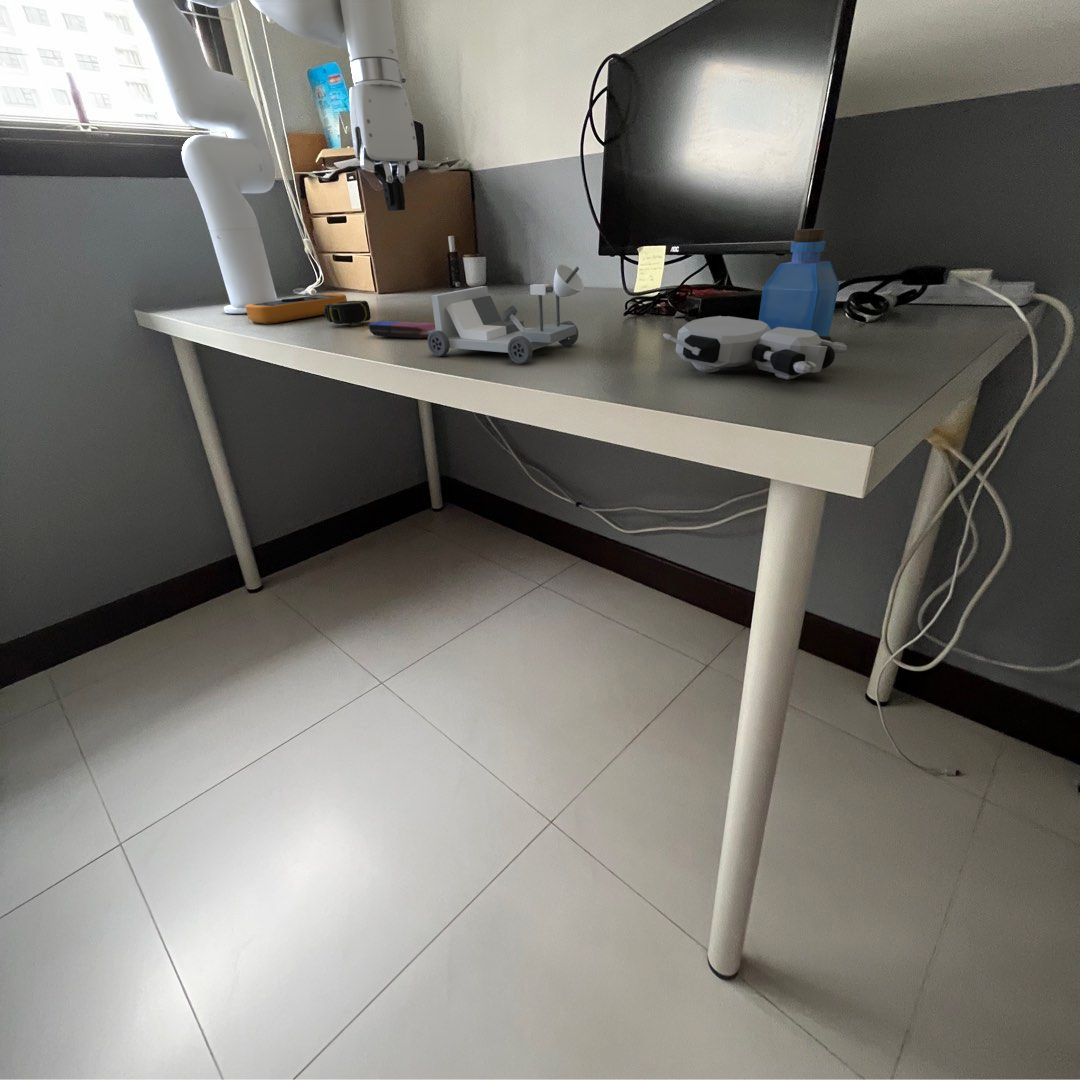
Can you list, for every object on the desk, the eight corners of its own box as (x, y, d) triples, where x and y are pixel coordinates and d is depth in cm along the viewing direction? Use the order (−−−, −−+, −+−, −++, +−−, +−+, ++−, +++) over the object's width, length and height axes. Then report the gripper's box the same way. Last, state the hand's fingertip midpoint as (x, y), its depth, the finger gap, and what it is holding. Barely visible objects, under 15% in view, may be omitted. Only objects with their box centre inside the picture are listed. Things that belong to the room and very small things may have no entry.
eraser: (444, 334, 86) (443, 322, 85) (430, 339, 82) (429, 326, 81) (383, 331, 89) (381, 319, 89) (366, 335, 86) (364, 323, 85)
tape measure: (364, 320, 103) (360, 298, 101) (378, 324, 98) (374, 300, 96) (326, 325, 100) (321, 302, 98) (339, 329, 95) (334, 305, 93)
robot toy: (844, 375, 57) (707, 350, 66) (858, 328, 55) (714, 308, 63) (803, 405, 50) (653, 372, 58) (817, 351, 47) (658, 325, 55)
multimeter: (245, 322, 108) (239, 303, 106) (328, 309, 120) (324, 292, 118) (267, 325, 103) (262, 305, 101) (351, 311, 115) (348, 293, 113)
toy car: (597, 260, 67) (545, 270, 59) (597, 347, 72) (549, 367, 63) (477, 262, 76) (417, 270, 67) (484, 339, 81) (428, 355, 72)
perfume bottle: (755, 343, 69) (770, 231, 63) (778, 335, 73) (794, 228, 67) (806, 349, 65) (828, 229, 59) (828, 340, 69) (850, 227, 63)
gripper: (403, 87, 98) (419, 210, 107) (322, 77, 89) (347, 212, 98) (428, 78, 93) (443, 208, 102) (345, 67, 84) (369, 210, 93)
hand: (396, 210), depth 100 cm, fingers closed
